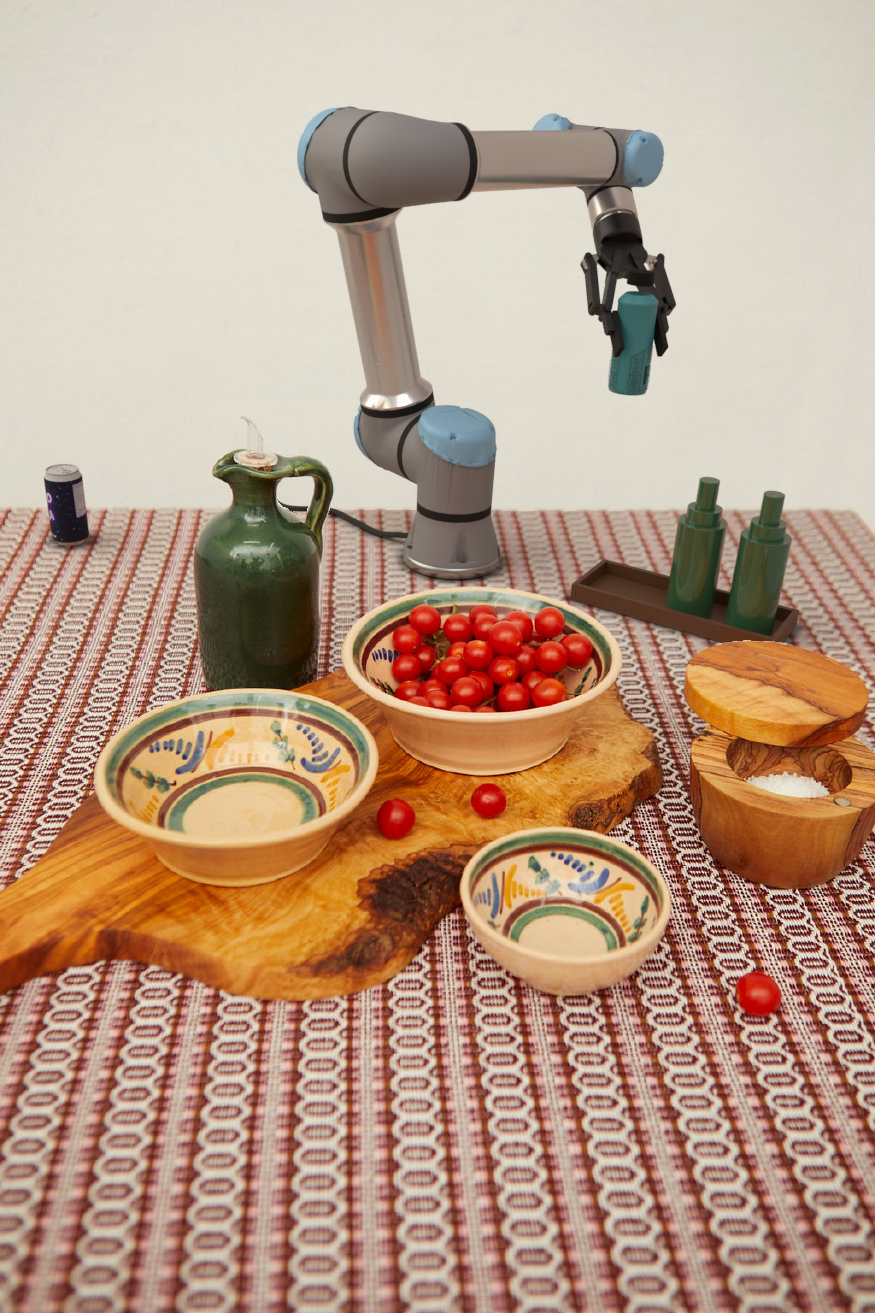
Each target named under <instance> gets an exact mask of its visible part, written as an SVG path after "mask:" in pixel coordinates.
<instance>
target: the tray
mask: <svg viewBox="0 0 875 1313" xmlns="http://www.w3.org/2000/svg"><path fill="white" fill-rule="evenodd" d="M669 577H670V575H667V574H664V573H659V572H655V571H653V570H648V569H644V568H640V567H638V566H637V567H636V566H634V565H628V564H625V563H621V562H618V561H614V560H610V559H607V558H603V559H602V560H600V561H599V562H598V563H596V564H595V565H594V566H593V567H591V568H589V570H587V571H586V572H585V573H583V574H582V575H581V576H579V577H578V578H577V579H576V580H575V581H573V582H572V583H571V586H570V587H571V588H570V595H569V600H570V601H574V602H578V603H581V604H585V605H588V606H591V607H595V608H598V609H599V608H600V609H602V610H605V611H609V612H612V613H615V614H620V615H623V616H626V617H630V618H633V619H637V620H640V621H644V622H647V623H651V624H653V625H658V626H661V627H665V628H668V629H672V630H676V631H678V632H683V633H686V634H690V635H693V636H697V637H700V638H703V639H707V640H711V641H714V642H718V643H721V644H723V643H722V642H732V641H743V640H751V641H775V642H784V643H785V641H786V640H787V639H788V638H789V637H790V635H791V633H792V632H793V631H794V630H795V628H796V627H797V625H798V620H799V615H800V609H797V608H793V607H789V606H785V605H781V604H779V605H778V610H777V615H776V620H775V625H774V630H773V633H772V634H771V635H770V636H767V635H763V634H760V633H756V632H752V631H749V630H745V629H742V628H738V627H734V626H731V625H727V624H724V622H725V616H726V611H727V605H728V600H729V594H730V591H728V590H725V589H724V590H723V589H720V588H717V589H716V595H715V600H714V606H713V612H712V615H711V617H710V618H708V619H705V618H702V617H698V616H695V615H691V614H687V613H684V612H680V611H676V610H673V609H669V608H666V607H665V603H666V597H667V590H668V584H669Z"/></svg>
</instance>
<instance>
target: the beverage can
mask: <svg viewBox="0 0 875 1313" xmlns="http://www.w3.org/2000/svg"><path fill="white" fill-rule="evenodd" d="M44 472H45V473H44V476H43V483H44V489H45V497H46V505H47V510H48V512H47V513H48V520H49V526H50V532H51V533H50V534H51V538H52V540H54V541H55V542H57V544H58V545H61V546H65V547H74V546H78V545H81V544H83V543H85V541H86V539H87V538H88V537H90V529H89V522H88V512H87V504H86V497H85V489H84V481H83V474H82V473H81V472H80V469H79V466H77V465H75V464H72V463H57V464H52V465H49V466H48V467H46V468H45V471H44Z"/></svg>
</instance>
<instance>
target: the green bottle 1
mask: <svg viewBox="0 0 875 1313" xmlns="http://www.w3.org/2000/svg"><path fill="white" fill-rule="evenodd" d="M720 485H721V480H720V479H718V478H716V477H713V476H702V477H699V480H698V484H697V493H696V498H695V501H692V502H690V503H688V504H687V507H686V513H685V512H684V513H683V514H681V515H680V516H678V518H677V526H676V531H675V539H674V545H673V553H672V558H671V565H670V572H669V576H670V577H669V584H668V590H667V597H666V603H665V607H666V608H669V609H673V610H676V611H680V612H684V613H687V614H691V615H695V616H698V617H702V618H705V619H708V618H710V617H711V615H712V612H713V606H714V600H715V595H716V589H718V583H719V576H720V572H721V565H722V560H723V555H724V549H725V545H726V544H725V543H726V536H727V531H728V525H729V523H728V521H727V520H726V519H725V518H724V517H723V513H724V509H723V507H722V506H721V505H719V504H717V503H718V497H719V491H720V487H721V486H720Z"/></svg>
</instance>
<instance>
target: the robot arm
mask: <svg viewBox="0 0 875 1313" xmlns="http://www.w3.org/2000/svg"><path fill="white" fill-rule="evenodd" d="M664 149H665V148H664V145H663V142H662V140H661V138H660V137H659V136H658V135H656V134H655V133H653V132H651V131H644V130H642V129H635V130H634V129H625V128H624V129H623V128H614V127H613V128H612V127H605V126H604V127H603V126H596V125H586V124H576V123H574V122H572V121H570V119H569V118H568V117H565V116H562V115H560V114H558V113H551V112H550V113H548V114H545V115H543V116H542V117H540V119H539V120H538V121H537V122H536V123H535V124H534V125H533V127H532V129H530V130H529V129H528V130H527V129H526V130H525V129H523V130H471V129H470V128H469V127H468V126H467V125H466V124H464V123H462V122H456V121H455V122H454V121H453V122H451V121H437V120H431V119H426V118H422V117H417V116H412V115H408V114H404V113H399V112H395V111H384V110H373V109H363V108H358V107H355V106H351V105H347V106H343V107H330V108H326V109H324V110H322V111H320V112H318V113H316V115H315V116H313V117H312V118H311V119H310V120H309V122H308V123H307V124H306V126H305V128H304V130H303V132H302V133H301V135H300V137H299V141H298V146H297V151H296V155H297V156H296V161H297V162H296V163H297V169H298V172H299V175H300V177H301V179H302V181H303V182H304V184H305V186H307V188H308V189H309V190H310V191H311V192H313V193H314V194H316V195H317V196H318V201H319V205H320V211H321V215H322V221H323V222H324V224H326V225H328V226H329V227H330V228H332V229H333V230H334V231H335V232H336V236H337V242H338V248H339V251H340V252H339V253H340V256H341V261H342V262H341V263H342V267H343V272H344V277H345V282H346V286H347V287H346V288H347V292H348V298H349V302H350V303H349V304H350V307H351V312H352V318H353V323H354V329H355V333H356V339H357V344H358V348H359V353H360V359H361V364H362V368H363V374H364V380H365V385H366V387H365V388H364V389H363V391H362V392H361V394H360V396H359V406H358V407H357V411H358V412H357V415H355V416H354V420H353V437H354V440H355V443H356V445H357V448H358V449H359V451H360V452H361V454H362V455H363V456H364V457H365V458H366V459H367V460H369V461H370V462H372V463H373V464H374V465H375V466H377V467H378V468H381V469H382V470H385V471H388V472H390V473H393V474H394V475H397V476H399V477H401V478H403V479H405V480H407V481H408V482H411V483H413V484H415V485H416V512H415V515H414V518H413V521H412V524H411V526H410V529H409V531H408V532H401V531H384V530H381V529H377V528H375V527H372V526H370V525H369V524H367V523H365V522H364V521H361V520H359V519H357V518H355V517H353V516H351V515H349V514H347V513H346V512H343V511H341V510H339V509H336V508H333V507H329V508H330V511H329V513H328V514H329V515H330V514H331V515H334V516H337V517H339V518H341V519H343V520H345V521H347V522H348V523H351V524H352V525H354V526H357V527H359V528H361V529H362V530H364V531H365V532H368V533H370V534H372V535H374V536H377V537H381V538H391V539H392V538H393V539H406V540H405V542H404V545H403V562H404V564H405V565H406V566H407V567H408V568H410V569H411V570H413V571H415V572H416V573H419V574H421V575H424V576H427V577H432V578H437V579H443V580H467V579H469V580H470V579H475V578H479V577H483V576H486V575H488V574H491V573H493V572H495V570H497V568H498V567H499V566H500V562H501V561H500V560H501V555H502V554H501V553H502V552H501V551H502V550H501V548H500V544H499V541H498V537H497V534H496V531H495V526H494V523H493V519H492V506H493V494H494V481H495V469H496V468H495V467H496V457H497V451H498V448H497V442H496V441H497V437H496V436H497V433H496V427H495V425H494V423H493V421H492V420H491V419H490V418H489V417H488V416H486V415H485V414H484V413H481V412H479V411H477V410H475V409H472V408H469V407H461V406H460V405H453V404H441V405H436V400H435V396H434V395H435V394H434V389H433V385H432V383H431V382H430V381H429V380H427V379H425V378H424V377H422V375H421V369H420V362H419V357H418V351H417V345H416V339H415V338H416V337H415V333H414V326H413V319H412V314H411V309H410V301H409V297H408V290H407V284H406V278H405V271H404V266H403V260H402V254H401V248H400V241H399V235H398V230H397V224H396V222H397V218H398V217H399V216H400V214H401V212H402V211H403V209H404V208H409V207H410V208H411V207H417V206H425V205H431V204H432V205H433V204H439V203H449V202H450V203H451V202H461V201H464V200H467V198H468V197H469V196H470V195H471V194H472V193H482V192H485V193H487V192H501V191H502V192H503V191H520V190H538V189H559V188H575V187H576V188H577V189H579V190H580V191H582V192H583V194H584V199H585V202H586V207H587V213H588V218H589V223H590V228H591V231H592V238H593V243H594V244H593V245H594V248H595V252H596V253H593V254H592V252H589V251H587V252H585V253H584V255H583V257H582V260H580V264H579V265H580V268H581V270H582V272H583V275H584V281H585V293H586V294H585V295H586V303H587V304H586V305H587V312H588V313H587V314H588V315H589V316H590V317H594V316H598V317H597V320H598V322H600V323H602V328H603V332H604V335H605V336H606V337H607V336H608V337H609V339H610V343H611V344H610V345H611V350H612V349H613V354H614V357H619V356H620V354H621V353H622V351H623V350H624V348H625V346H624V341H623V336H622V331H621V326H620V321H619V316H618V311H617V309H616V310H614V309H613V306H614V300H615V294H616V288H617V284H618V283H617V282H618V280H621V279H625V280H627V279H628V274H629V271H630V270H632V269H643V270H650V271H653V272H654V286H650V287H641V286H635V287H636V289H637V291H641V292H648V293H651V294H653V295H654V296H655V298H656V299H657V300H658V307H657V315H656V323H655V332H654V338H655V339H654V340H653V344H654V348H655V352H656V357H660V358H662V357H663V356H664V355H665V353H666V351H667V350H668V349H669V342H668V337H667V333H668V332H669V330H670V326H669V321H668V316H670V315H671V314H672V312H673V311H674V309H675V308H676V306H677V302H676V298H675V296H674V292H673V289H672V286H671V283H670V280H669V277H668V274H667V271H666V268H665V260H666V259H665V258H666V257H665V255H664V253H661V252H659V253H658V254H657V255H652V254H649V253H648V251H647V249H646V248H645V247H644V240H643V233H642V229H641V223H640V220H639V214H638V210H637V205H636V201H635V197H634V192H633V189H632V188H647V187H649V186H650V185H652V184H653V183H654V182H656V180H657V179H658V177H659V176H660V175H661V173H662V172H661V171H662V169H663V166H664V157H665V150H664ZM645 264H647V266H648V269H647V267H646V265H645ZM598 265H599V266H600V267H601V269H603V271H604V272H606V273H605V277H604V287H603V294H602V300H601V294H600V284H599V282H600V281H599V273H598V272H599V270H598ZM277 500H278V502H279V503H280V504H281V505H282V506H283V507H286V508H288V509H289V510H290V511H289V512H296V513H297V512H298V513H299V512H300V513H305V512H306V513H307V508H308V506H309V505H291V504H286V503H284V502H282V501H280V500H279V499H277Z"/></svg>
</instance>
